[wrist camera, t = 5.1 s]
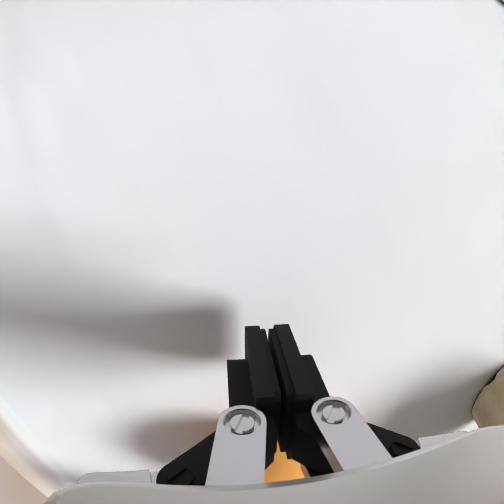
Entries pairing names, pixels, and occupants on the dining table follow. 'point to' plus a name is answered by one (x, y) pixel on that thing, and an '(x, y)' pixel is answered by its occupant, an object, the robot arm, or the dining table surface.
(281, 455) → the ball
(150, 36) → the dining table surface
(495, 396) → the flower pot
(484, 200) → the dining table surface
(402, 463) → the robot arm
